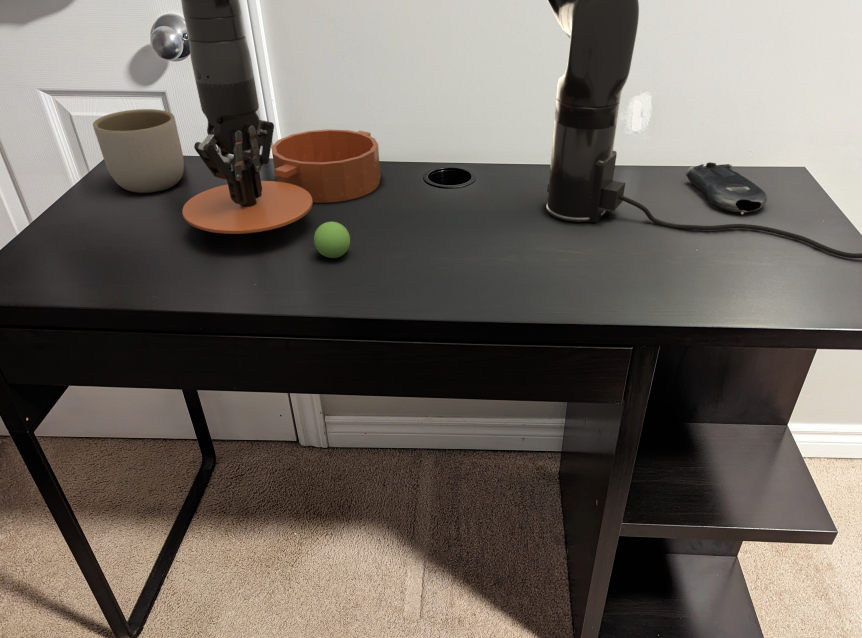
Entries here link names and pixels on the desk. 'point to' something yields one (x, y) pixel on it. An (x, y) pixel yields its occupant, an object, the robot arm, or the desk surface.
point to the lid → (247, 207)
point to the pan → (329, 163)
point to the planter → (141, 149)
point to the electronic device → (727, 188)
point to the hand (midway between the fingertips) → (247, 199)
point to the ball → (332, 239)
